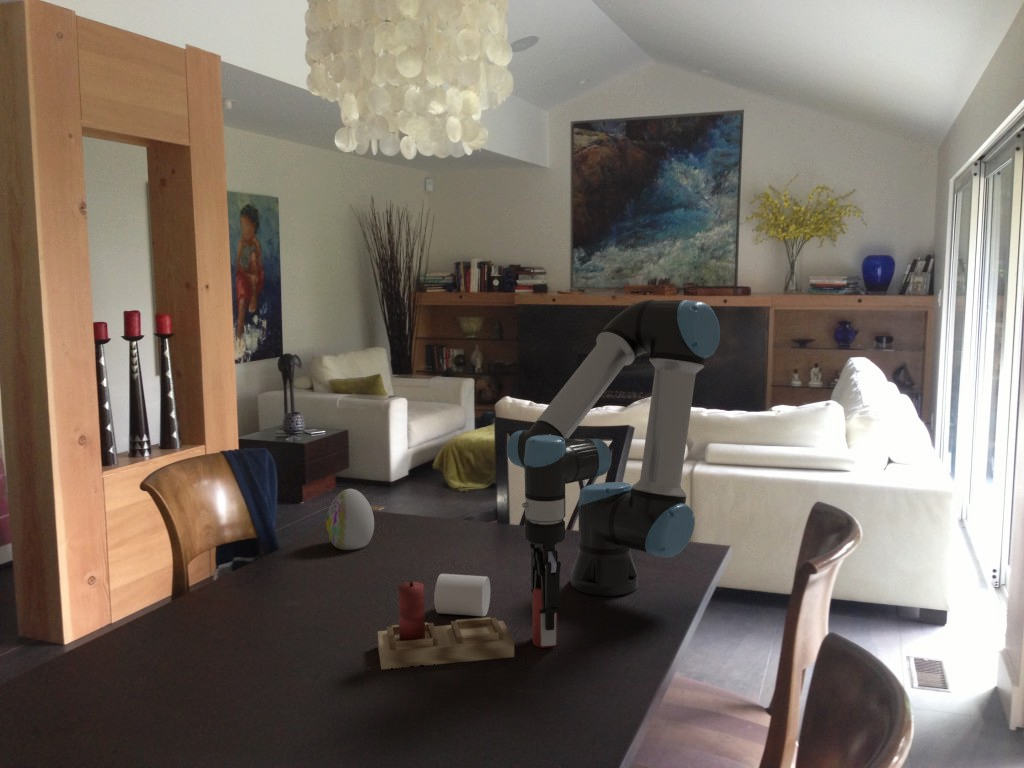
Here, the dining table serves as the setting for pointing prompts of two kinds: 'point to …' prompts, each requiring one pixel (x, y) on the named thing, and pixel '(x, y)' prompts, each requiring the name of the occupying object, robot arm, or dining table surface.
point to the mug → (462, 595)
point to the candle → (538, 618)
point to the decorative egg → (350, 521)
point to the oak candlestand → (439, 636)
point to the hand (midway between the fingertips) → (544, 639)
